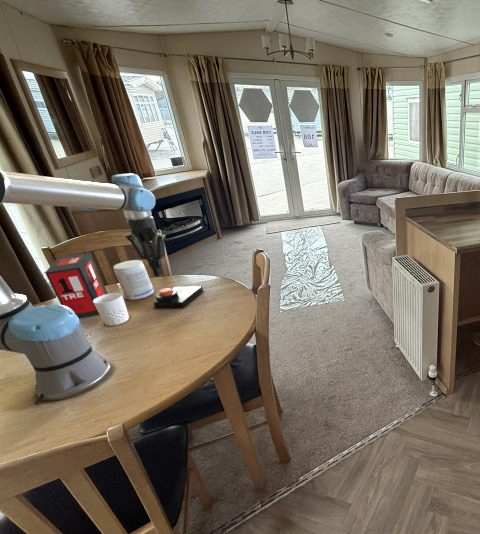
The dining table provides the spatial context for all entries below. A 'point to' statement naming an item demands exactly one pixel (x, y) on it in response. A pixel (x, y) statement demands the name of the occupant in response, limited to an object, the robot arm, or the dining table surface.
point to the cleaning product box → (77, 283)
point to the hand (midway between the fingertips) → (159, 274)
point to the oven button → (165, 292)
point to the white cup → (111, 308)
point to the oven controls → (178, 297)
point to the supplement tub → (133, 279)
